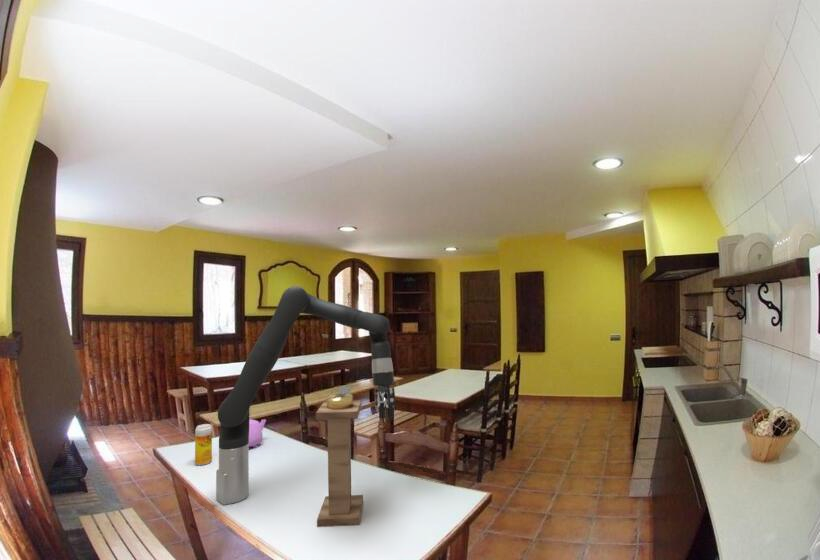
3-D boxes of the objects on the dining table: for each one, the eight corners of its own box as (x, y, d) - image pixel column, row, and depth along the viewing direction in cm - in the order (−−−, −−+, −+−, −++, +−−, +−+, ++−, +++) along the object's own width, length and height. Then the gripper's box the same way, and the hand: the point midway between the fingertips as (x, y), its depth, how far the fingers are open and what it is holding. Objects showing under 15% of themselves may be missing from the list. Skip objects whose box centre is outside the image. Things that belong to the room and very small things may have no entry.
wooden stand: (325, 502, 129) (324, 401, 131) (363, 501, 130) (361, 400, 132) (317, 526, 115) (315, 413, 117) (359, 524, 116) (357, 411, 118)
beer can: (204, 466, 162) (205, 428, 163) (191, 465, 163) (191, 427, 164) (215, 460, 168) (215, 423, 169) (202, 459, 169) (202, 423, 170)
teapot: (230, 456, 172) (230, 426, 173) (217, 450, 180) (217, 421, 180) (272, 443, 187) (272, 415, 188) (258, 438, 195) (258, 411, 196)
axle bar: (335, 394, 141) (334, 385, 142) (357, 393, 142) (357, 385, 142) (324, 410, 121) (324, 399, 121) (351, 409, 121) (351, 399, 121)
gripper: (366, 373, 150) (370, 419, 146) (379, 371, 137) (383, 421, 133) (385, 372, 153) (389, 417, 149) (399, 369, 140) (404, 418, 136)
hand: (386, 418), depth 141 cm, fingers open, 8 cm apart
